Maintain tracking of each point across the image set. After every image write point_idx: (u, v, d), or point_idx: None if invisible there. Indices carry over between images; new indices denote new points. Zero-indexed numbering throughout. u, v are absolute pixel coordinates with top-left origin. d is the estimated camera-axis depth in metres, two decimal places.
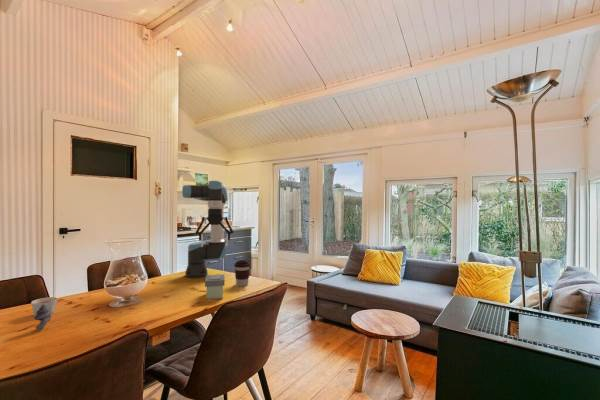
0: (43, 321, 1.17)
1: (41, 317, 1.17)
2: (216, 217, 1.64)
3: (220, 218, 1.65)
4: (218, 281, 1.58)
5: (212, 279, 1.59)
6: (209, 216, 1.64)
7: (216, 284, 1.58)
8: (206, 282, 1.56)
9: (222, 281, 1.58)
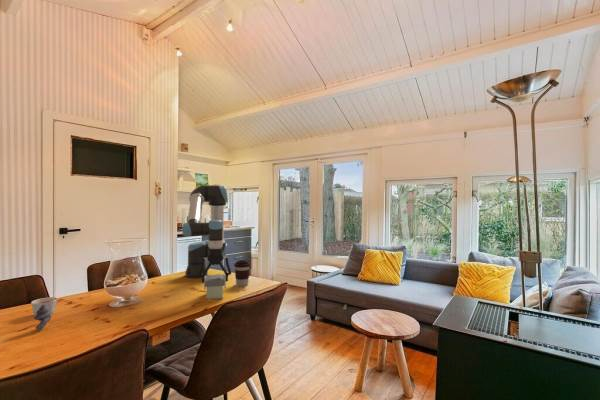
0: (43, 321, 1.17)
1: (41, 317, 1.17)
2: (217, 256, 1.63)
3: (221, 258, 1.64)
4: (218, 281, 1.58)
5: (212, 279, 1.59)
6: (209, 256, 1.62)
7: (216, 284, 1.58)
8: (206, 282, 1.56)
9: (222, 281, 1.58)
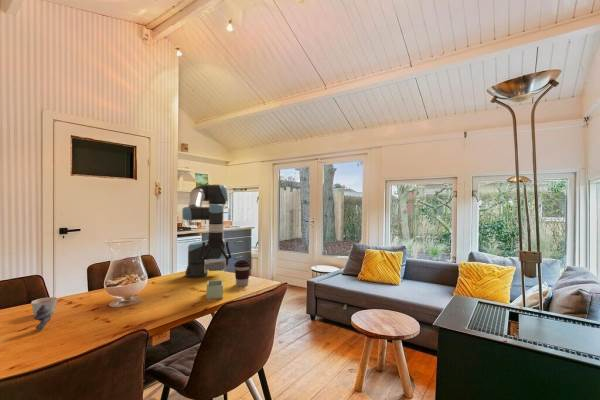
0: (43, 321, 1.17)
1: (41, 317, 1.17)
2: (217, 240, 1.63)
3: (221, 242, 1.64)
4: (218, 264, 1.58)
5: (212, 262, 1.59)
6: (209, 240, 1.62)
7: (216, 267, 1.58)
8: (206, 265, 1.57)
9: (222, 264, 1.59)
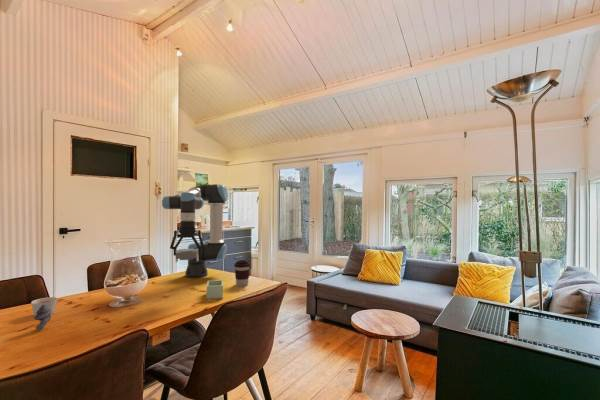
0: (43, 321, 1.17)
1: (41, 317, 1.17)
2: (189, 229, 1.60)
3: (193, 230, 1.61)
4: (189, 253, 1.55)
5: (183, 251, 1.56)
6: (181, 229, 1.59)
7: (187, 256, 1.55)
8: (177, 254, 1.54)
9: (193, 253, 1.56)
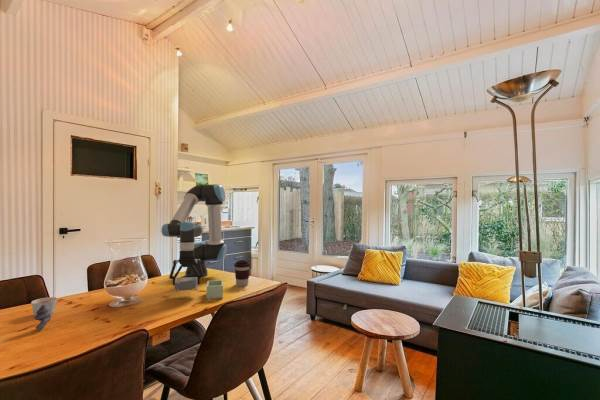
0: (43, 321, 1.17)
1: (41, 317, 1.17)
2: (188, 258, 1.60)
3: (192, 260, 1.61)
4: (188, 284, 1.55)
5: (182, 282, 1.56)
6: (180, 258, 1.59)
7: (186, 287, 1.55)
8: (176, 285, 1.53)
9: (193, 284, 1.55)
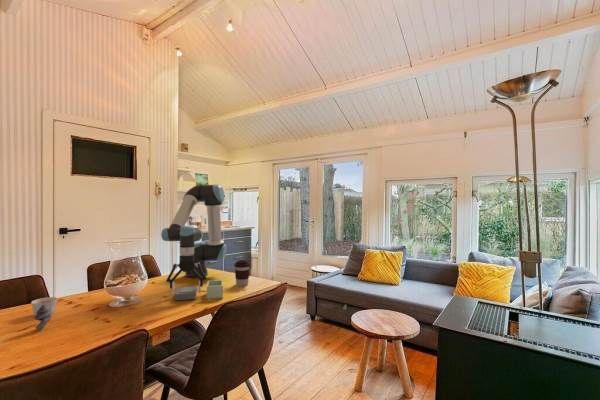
0: (43, 321, 1.17)
1: (41, 317, 1.17)
2: (188, 264, 1.60)
3: (192, 265, 1.61)
4: (188, 294, 1.55)
5: (182, 292, 1.56)
6: (180, 263, 1.59)
7: (186, 297, 1.55)
8: (176, 295, 1.53)
9: (192, 294, 1.55)
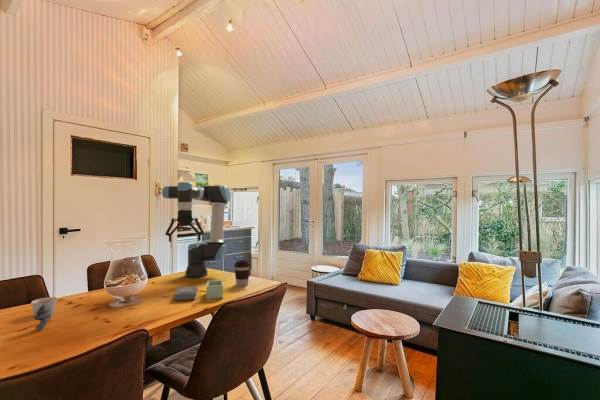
0: (43, 321, 1.17)
1: (41, 317, 1.17)
2: (186, 218, 1.65)
3: (190, 219, 1.66)
4: (188, 294, 1.55)
5: (182, 292, 1.56)
6: (179, 217, 1.64)
7: (186, 297, 1.55)
8: (176, 295, 1.53)
9: (192, 294, 1.55)
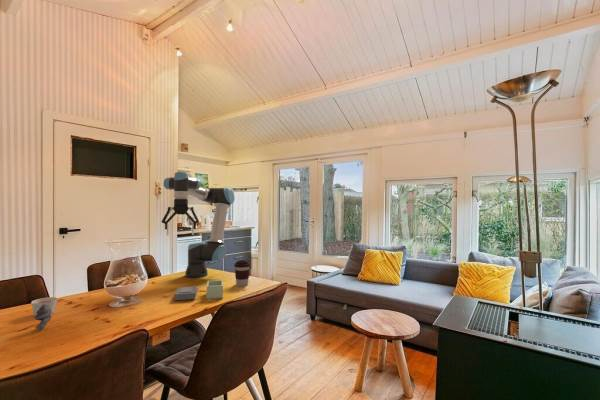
0: (43, 321, 1.17)
1: (41, 317, 1.17)
2: (182, 207, 1.71)
3: (186, 208, 1.71)
4: (188, 294, 1.55)
5: (182, 292, 1.56)
6: (175, 206, 1.70)
7: (186, 297, 1.55)
8: (176, 295, 1.53)
9: (192, 294, 1.55)
